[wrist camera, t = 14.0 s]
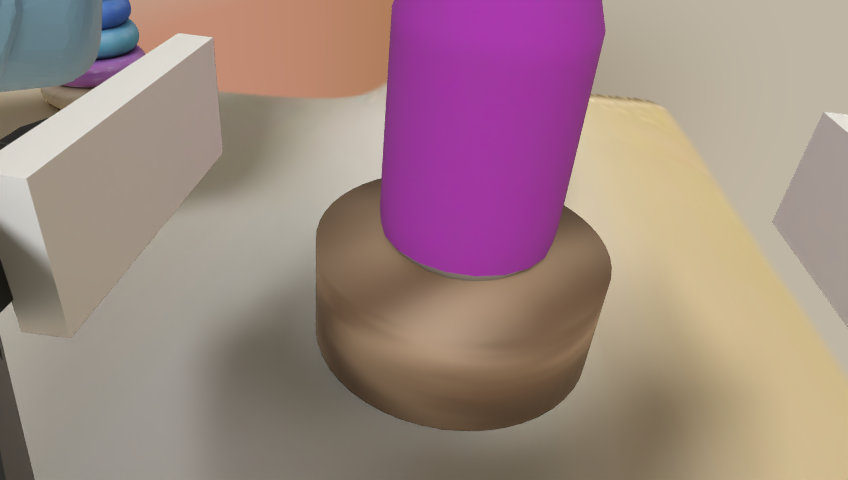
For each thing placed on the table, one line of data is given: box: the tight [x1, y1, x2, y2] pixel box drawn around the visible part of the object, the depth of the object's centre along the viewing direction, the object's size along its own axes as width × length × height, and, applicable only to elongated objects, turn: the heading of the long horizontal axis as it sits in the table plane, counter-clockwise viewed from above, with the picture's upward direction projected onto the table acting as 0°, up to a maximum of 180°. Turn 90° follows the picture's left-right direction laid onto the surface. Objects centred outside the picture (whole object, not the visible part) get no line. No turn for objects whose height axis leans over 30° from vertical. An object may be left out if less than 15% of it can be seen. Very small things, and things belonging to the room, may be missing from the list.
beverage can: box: [380, 0, 605, 281], centre depth 25 cm, size 8×8×12 cm
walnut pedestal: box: [316, 178, 612, 431], centre depth 30 cm, size 13×13×5 cm
